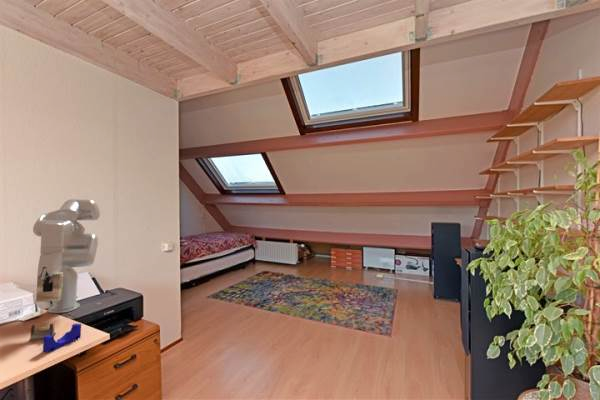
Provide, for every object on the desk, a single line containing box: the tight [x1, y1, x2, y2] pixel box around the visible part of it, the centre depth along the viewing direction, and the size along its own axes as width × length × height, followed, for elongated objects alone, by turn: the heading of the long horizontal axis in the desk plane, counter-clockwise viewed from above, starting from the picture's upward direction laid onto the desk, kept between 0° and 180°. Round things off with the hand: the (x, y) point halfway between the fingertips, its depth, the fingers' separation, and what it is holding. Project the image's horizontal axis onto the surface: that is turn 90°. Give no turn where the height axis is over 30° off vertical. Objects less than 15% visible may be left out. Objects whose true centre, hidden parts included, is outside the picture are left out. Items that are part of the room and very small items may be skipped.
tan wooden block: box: [35, 272, 63, 303], centre depth 121 cm, size 3×8×12 cm, turn 109°
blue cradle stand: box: [42, 322, 82, 354], centre depth 109 cm, size 12×4×6 cm, turn 167°
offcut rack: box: [29, 323, 57, 342], centre depth 113 cm, size 4×7×6 cm, turn 110°
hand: (49, 289), depth 121 cm, fingers closed on tan wooden block, 3 cm apart
